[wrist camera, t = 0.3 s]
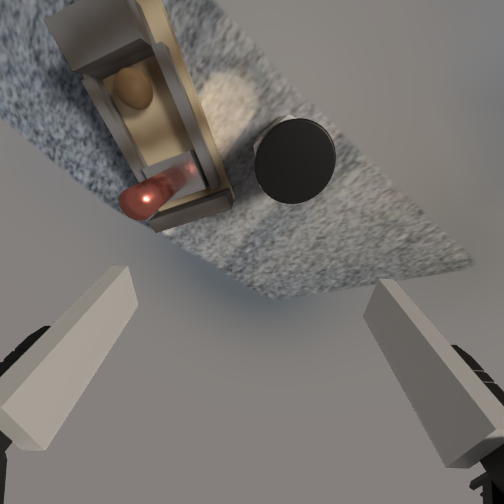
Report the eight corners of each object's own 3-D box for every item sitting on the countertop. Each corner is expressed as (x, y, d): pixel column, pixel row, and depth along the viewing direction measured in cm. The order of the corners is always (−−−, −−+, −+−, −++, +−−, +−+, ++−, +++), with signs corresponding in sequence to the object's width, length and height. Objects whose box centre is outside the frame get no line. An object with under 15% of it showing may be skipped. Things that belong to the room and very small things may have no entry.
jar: (244, 168, 34) (239, 188, 24) (264, 108, 30) (269, 101, 20) (298, 189, 35) (315, 216, 25) (323, 134, 31) (356, 140, 21)
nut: (118, 79, 27) (98, 72, 24) (147, 65, 26) (131, 56, 23) (137, 115, 29) (121, 114, 26) (164, 103, 28) (151, 101, 25)
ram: (151, 165, 32) (86, 191, 20) (195, 148, 31) (155, 164, 19) (168, 197, 34) (119, 238, 22) (209, 183, 33) (183, 218, 21)
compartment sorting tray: (72, 39, 27) (18, 15, 21) (159, -7, 25) (127, -49, 19) (169, 218, 38) (153, 235, 32) (235, 196, 36) (230, 211, 30)
